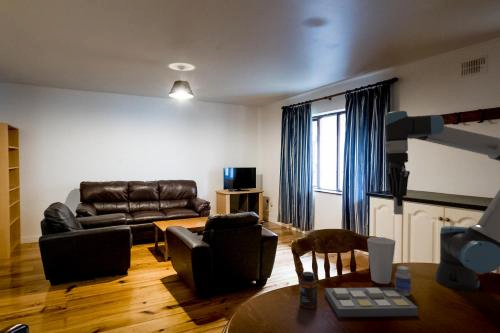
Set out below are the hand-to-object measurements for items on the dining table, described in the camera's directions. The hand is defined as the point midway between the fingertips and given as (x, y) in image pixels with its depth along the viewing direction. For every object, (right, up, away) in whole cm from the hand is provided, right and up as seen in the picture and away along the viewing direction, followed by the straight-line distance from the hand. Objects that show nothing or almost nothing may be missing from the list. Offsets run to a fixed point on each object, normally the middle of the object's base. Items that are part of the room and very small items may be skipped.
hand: (398, 214), depth 117 cm
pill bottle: (+1, -30, -1) cm, 30 cm away
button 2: (-12, -28, -8) cm, 32 cm away
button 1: (-6, -29, -8) cm, 31 cm away
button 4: (-24, -28, -8) cm, 38 cm away
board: (-15, -30, -10) cm, 35 cm away
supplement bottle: (-36, -31, -10) cm, 49 cm away
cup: (-2, -30, +11) cm, 32 cm away
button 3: (-18, -29, -8) cm, 36 cm away
